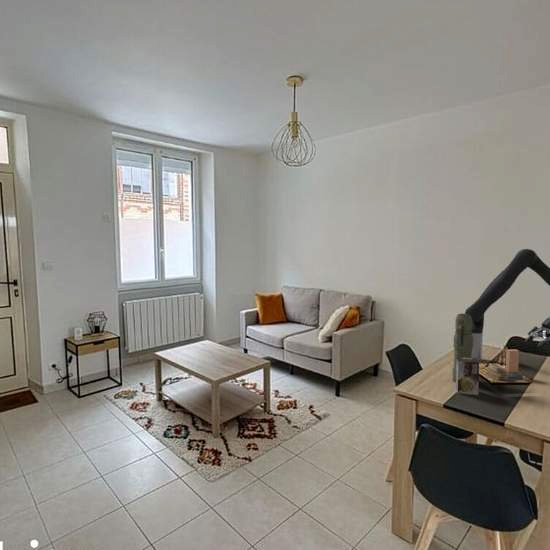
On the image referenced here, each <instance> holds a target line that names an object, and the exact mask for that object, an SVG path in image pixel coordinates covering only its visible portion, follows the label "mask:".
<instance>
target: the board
mask: <svg viewBox="0 0 550 550" xmlns="http://www.w3.org/2000/svg"><path fill="white" fill-rule="evenodd" d="M505 354H506V356H505V359H506V360H505V370H506V371H508V372H509V373H519V363H520V362H519V360H520V350H518V349H516V348H515V349H512V348H511V349H506V353H505Z"/></svg>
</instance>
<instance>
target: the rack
mask: <svg viewBox="0 0 550 550" xmlns="http://www.w3.org/2000/svg"><path fill="white" fill-rule="evenodd" d="M505 371H506V369H505ZM484 374H485V375H487V376H488V377H490V378H492V379H493V380H496V381H497V382H509V381H510V382H511V381H512V382H515V381H516V382H517V381H529V378H525V377H524V373H523V372H518V373H509V376H508V380H497V379H495V378H493V377H492V376H490V375H488V374H487V372H486V373H484Z"/></svg>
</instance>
